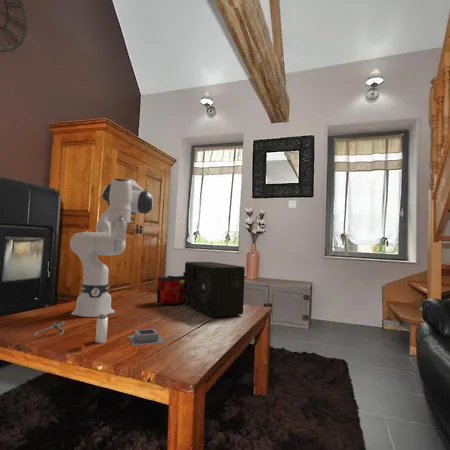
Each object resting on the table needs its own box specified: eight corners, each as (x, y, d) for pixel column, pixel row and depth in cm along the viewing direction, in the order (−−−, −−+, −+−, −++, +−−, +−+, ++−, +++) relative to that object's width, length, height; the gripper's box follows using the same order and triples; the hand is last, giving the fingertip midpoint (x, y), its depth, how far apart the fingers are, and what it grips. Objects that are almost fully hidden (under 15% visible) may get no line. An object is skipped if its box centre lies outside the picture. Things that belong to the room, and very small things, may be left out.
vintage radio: (177, 305, 175) (179, 261, 176) (206, 302, 185) (208, 261, 187) (210, 320, 143) (213, 267, 145) (243, 316, 154) (245, 266, 156)
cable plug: (95, 340, 105) (97, 313, 106) (106, 339, 107) (107, 313, 107) (95, 343, 102) (97, 316, 103) (106, 342, 103) (108, 315, 104)
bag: (191, 299, 195) (192, 273, 196) (204, 302, 185) (206, 275, 186) (149, 303, 175) (150, 275, 176) (161, 308, 165) (163, 277, 166)
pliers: (32, 336, 108) (38, 322, 126) (32, 339, 108) (38, 324, 126) (63, 334, 112) (64, 320, 130) (63, 336, 112) (64, 322, 130)
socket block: (128, 338, 111) (128, 328, 112) (157, 336, 116) (158, 326, 116) (132, 348, 101) (133, 337, 102) (164, 345, 106) (165, 335, 106)
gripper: (131, 216, 115) (128, 253, 115) (124, 219, 134) (122, 250, 133) (113, 215, 113) (111, 252, 112) (109, 218, 131) (107, 250, 131)
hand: (117, 251), depth 123 cm, fingers open, 8 cm apart
